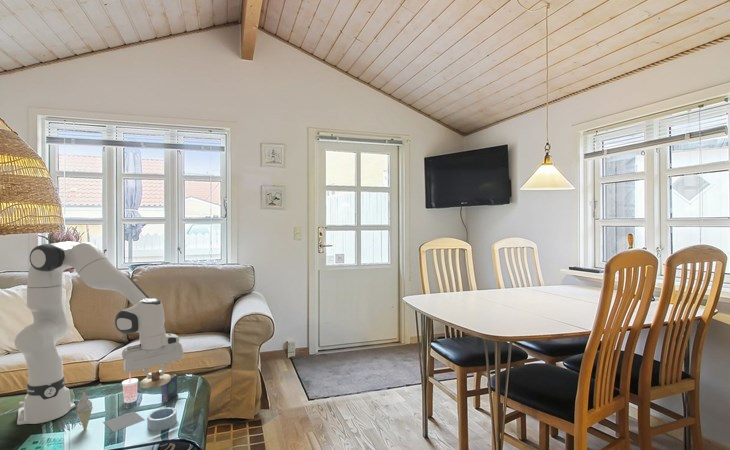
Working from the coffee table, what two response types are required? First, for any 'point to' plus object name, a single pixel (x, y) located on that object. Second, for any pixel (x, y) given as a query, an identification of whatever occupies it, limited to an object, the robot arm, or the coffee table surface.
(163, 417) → the bowl
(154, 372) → the lid
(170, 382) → the flask
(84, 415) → the ice cream cone
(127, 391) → the beverage cup
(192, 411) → the coffee table surface
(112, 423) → the mat
